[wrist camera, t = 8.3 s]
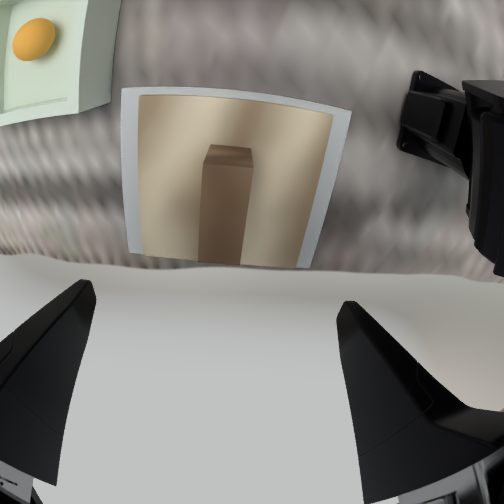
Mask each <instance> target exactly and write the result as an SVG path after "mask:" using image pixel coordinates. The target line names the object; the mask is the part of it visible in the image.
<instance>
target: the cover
mask: <svg viewBox="0 0 504 504" xmlns="http://www.w3.org/2000/svg"><path fill="white" fill-rule="evenodd" d="M333 117H334V116H333V115H331V114H328V113H324V112H319V111H315V110H310V109H305V108H300V107H294V106H288V105H282V104H276V103H270V102H262V101H255V100H247V99H238V98H227V97H215V96H199V95H140V96H139V107H138V190H139V209H140V223H141V236H142V246H143V255H144V256H154V257H165V258H176V259H187V260H198V262H208V263H219V264H231V265H240V264H244V265H256V266H268V267H280V268H293V269H296V265H297V262H298V258H299V254H300V251H301V247H302V244H303V240H304V236H305V233H306V229H307V225H308V221H309V218H310V214H311V210H312V206H313V202H314V198H315V194H316V190H317V186H318V182H319V178H320V174H321V170H322V166H323V161H324V157H325V153H326V148H327V144H328V140H329V135H330V131H331V126H332V121H333Z"/></svg>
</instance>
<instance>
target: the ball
mask: <svg viewBox="0 0 504 504" xmlns="http://www.w3.org/2000/svg"><path fill="white" fill-rule="evenodd" d="M54 38H55V28H54V25H53V24H52V22H51V21H49V20H48V19H45V18H36V19H32V20H30V21H28V22H27V23H25V24H24V25H23V26H22V27H21V28H20V29H19V30H18V31H17V33H16V35H15V37H14V39H13V44H12V49H13V53H14V55H15V56H16V57H17V58H18V59H19V60H22V61H32V60H35V59H38V58H39V57H41V56H42V55H44V54H45V53H46V52H47V51H48V50H49V48H50V47H51V45H52V43H53V41H54Z"/></svg>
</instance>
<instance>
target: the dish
mask: <svg viewBox="0 0 504 504" xmlns="http://www.w3.org/2000/svg"><path fill="white" fill-rule="evenodd" d="M121 1H122V0H0V126H3V125H8V124H12V123H17V122H22V121H27V120H33V119H39V118H45V117H52V116H59V115H67V114H76V113H80V112H83V111H86V110H89V109H92V108H95V107H98V106H101V105H104V104H107V103H111V87H112V71H113V59H114V48H115V40H116V32H117V25H118V18H119V12H120V6H121ZM36 18H45V19H48V20H49V21H51V22H52V24H53V25H54V28H55V38H54V41H53V43H52V45H51V47H50V48H49V50H48V51H47V52H46V53H45V54H44V55H42V56H41V57H39V58H38V59H35V60H32V61H22V60H19V59H18V58H17V57H16V56H15V55H14V53H13V49H12V44H13V39H14V37H15V35H16V33H17V31H18V30H19V29H20V28H21V27H22V26H23V25H24V24H25V23H27V22H28V21H30V20H32V19H36Z"/></svg>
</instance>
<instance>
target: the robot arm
mask: <svg viewBox="0 0 504 504" xmlns="http://www.w3.org/2000/svg"><path fill="white" fill-rule="evenodd" d="M419 75H421V80H420V79H419ZM462 87H463V90H465V93H463V92H460V91H458V90H457V89H455V88H453V87H452V86H450V85H448V84H446V83H444V82H443V81H441V80H439V79H437V78H435V77H433V76H431V75H429V74H427V73H425V72H423V71H415V72H414V74H413V79H412V84H411V88H410V92H409V93H408V97H407V102H406V106H405V110H404V114H403V119H402V127H401V131H400V135H399V138H398V142H397V146H398V148H399V149H400V150H402V151H403V152H407V153H410V154H413V155H416V156H419V157H422V158H425V159H427V160H430V161H433V162H436V163H438V164H441V165H444V166H446V167H449V168H451V169H453V170H454V171H456V172H457V173H459V174H460V175H461V176H463V177H464V178H466V179H467V180H469V194H468V204H467V205H466V213H467V215H468V217H469V229H470V232H471V234H472V236H473V239H474V240H475V241H474V246H475V247H476V248H477V249H478V251H479V252H480V253H481V254H482V255H483V256H484V257H486V258H487V259H488V260H489V261H491V262H492V263H494V264H495V266H494V270H493V273H494V274H495V275H498V276H501V277H504V81H497V80H467V81H462ZM404 142H405V143H406V144H405V146H404V147H403V143H404ZM95 305H96V295H95V292H94V289H93V285H92V282H91V281H90V280H84V279H80V280H79V281H77V282H76V283H74V284H73V285H72V286H70V287H69V288H68V289H66V290H65V291H64V292H62V293H61V294H60V295H58V296H57V297H56V298H54V299H53V300H52V301H50V302H49V303H48V304H46V305H45V306H44V307H43V308H41V309H40V310H39V311H38V312H36V313H35V314H34V315H33V316H31V317H30V318H29V319H28V320H27V321H25V322H24V323H23V324H21V325H20V326H19V327H18V328H17V329H15V331H14V332H12V333H11V334H9V335H8V336H7V337H6V338H5V339H4V340H2V341H1V342H0V504H43V503H42V501H41V500H40V498H39V496H38V495H37V493H36V491H35V489H34V488H33V486H32V484H33V478H37V479H39V480H42V481H44V482H46V483H49V484H51V485H54V486H56V484H57V477H58V468H59V461H60V454H61V447H62V441H63V435H64V429H65V424H66V419H67V414H68V410H69V405H70V401H71V397H72V393H73V389H74V385H75V381H76V378H77V374H78V370H79V367H80V363H81V360H82V357H83V353H84V350H85V347H86V344H87V340H88V336H89V332H90V327H91V323H92V318H93V314H94V310H95ZM336 321H337V331H338V341H339V349H340V359H341V364H342V369H343V374H344V378H345V384H346V389H347V394H348V399H349V404H350V409H351V415H352V420H353V427H354V433H355V439H356V446H357V452H358V457H359V458H358V460H359V467H360V475H361V482H362V491H363V500H364V504H371V503H375V502H378V501H382V500H386V499H389V498H392V497H396V496H398V499H399V503H398V504H504V412H498V411H490V410H483V409H476V408H472V407H469V406H467V405H465V404H464V403H463V402H461V401H460V400H459V399H458V398H457V397H455V396H454V395H453V394H452V393H451V392H450V391H449V390H447V389H446V388H445V387H444V386H443V385H442V384H440V383H439V382H438V381H437V380H436V379H435V378H434V377H433V376H432V375H431V374H430V373H429V372H427V370H426V369H424V368H423V366H422V365H420V363H418V362H417V361H416V360H415V359H414V358H413V357H412V356H411V355H410V354H409V353H408V352H407V351H406V350H405V349H404V348H403V347H402V346H401V345H400V344H399V343H398V342H397V341H396V340H395V339H394V338H393V337H392V336H391V335H390V334H389V333H388V332H387V331H386V330H385V329H384V328H383V327H382V326H381V325H380V324H379V323H378V322H377V321H376V320H375V319H374V318H373V317H372V316H370V315H369V314H368V313H367V312H366V311H365V310H364V309H363V308H362V307H361V306H360V305H359V304H358V303H357V302H355V301H345V302H344V303H343V305H342V307H341V309H340V312H339V313H338V316H337V320H336Z"/></svg>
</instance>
